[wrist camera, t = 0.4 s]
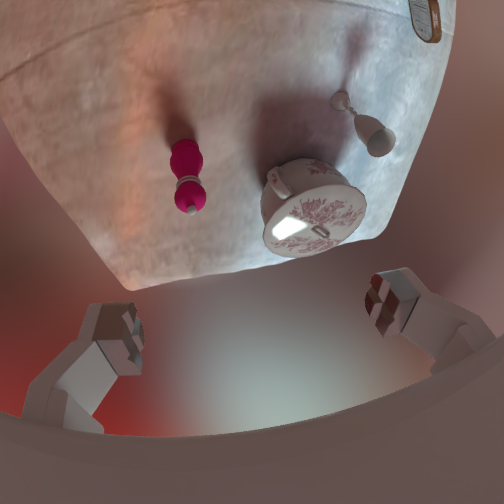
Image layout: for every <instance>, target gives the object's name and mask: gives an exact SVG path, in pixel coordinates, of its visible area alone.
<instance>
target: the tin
mask: <svg viewBox="0 0 504 504" xmlns="http://www.w3.org/2000/svg"><path fill="white" fill-rule="evenodd" d="M409 6H410V12H411V19H412V25H413V28H414V30H415V32H416V34H417V35H418V37H419V38H420V39H421V40H423V41H424V42H426V43H438V42H439V41H440V40H441V37H442V31H441V19H440V9H439V4H438V1H437V0H409Z"/></svg>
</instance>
